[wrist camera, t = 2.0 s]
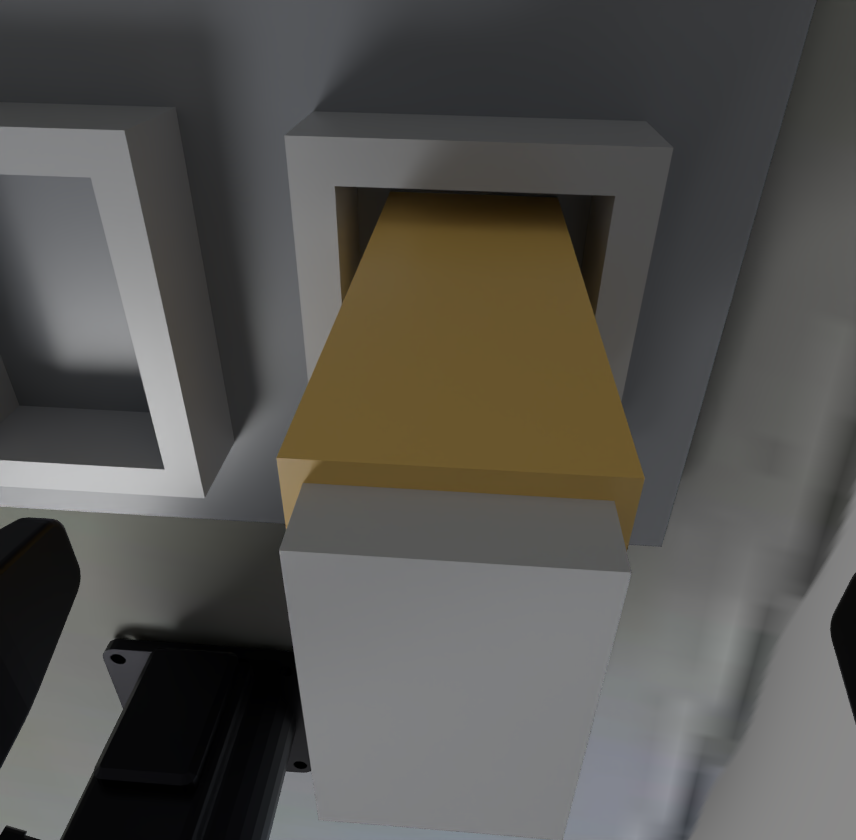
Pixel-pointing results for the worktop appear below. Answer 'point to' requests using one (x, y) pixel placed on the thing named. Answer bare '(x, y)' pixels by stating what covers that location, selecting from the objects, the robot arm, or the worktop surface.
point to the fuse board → (346, 211)
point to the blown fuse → (457, 523)
